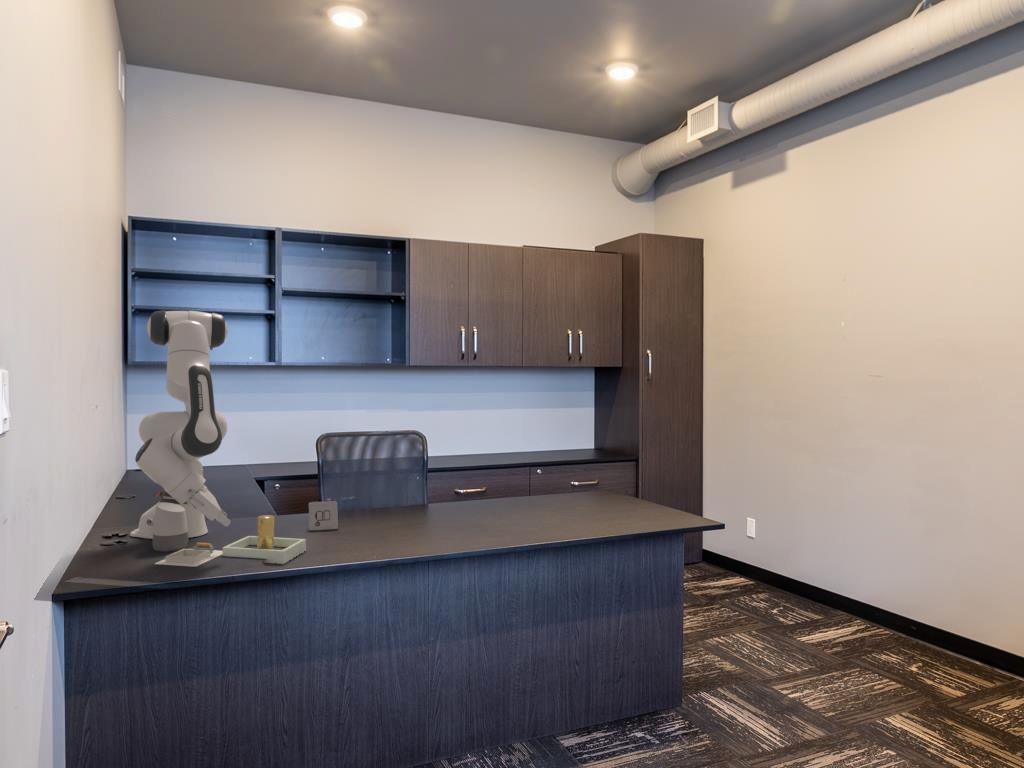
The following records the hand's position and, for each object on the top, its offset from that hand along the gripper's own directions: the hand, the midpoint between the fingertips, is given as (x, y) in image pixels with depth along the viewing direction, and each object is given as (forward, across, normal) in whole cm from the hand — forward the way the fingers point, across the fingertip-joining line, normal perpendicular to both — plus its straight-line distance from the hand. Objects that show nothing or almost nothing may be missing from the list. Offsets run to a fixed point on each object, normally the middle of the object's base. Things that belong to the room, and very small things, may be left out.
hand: (226, 520), depth 197 cm
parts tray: (+15, 0, 0) cm, 15 cm away
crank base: (+2, +1, +14) cm, 14 cm away
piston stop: (+14, 0, 0) cm, 14 cm away
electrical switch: (+30, +27, -15) cm, 44 cm away
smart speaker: (-2, +14, +18) cm, 23 cm away
